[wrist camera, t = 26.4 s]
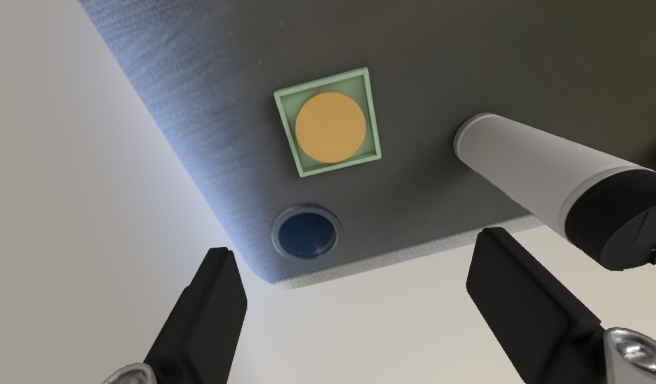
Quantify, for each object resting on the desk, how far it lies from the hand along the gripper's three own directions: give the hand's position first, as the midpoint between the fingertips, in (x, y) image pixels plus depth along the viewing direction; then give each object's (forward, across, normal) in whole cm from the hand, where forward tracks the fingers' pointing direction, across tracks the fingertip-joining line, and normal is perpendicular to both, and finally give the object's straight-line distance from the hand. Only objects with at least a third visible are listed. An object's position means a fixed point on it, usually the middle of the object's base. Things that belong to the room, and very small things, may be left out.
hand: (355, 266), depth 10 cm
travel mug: (+24, -18, +3) cm, 30 cm away
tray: (+23, 0, 0) cm, 23 cm away
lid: (+21, 0, 0) cm, 21 cm away
